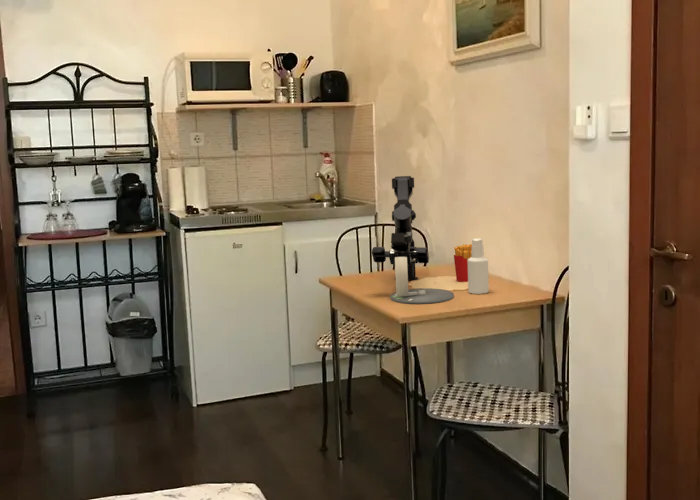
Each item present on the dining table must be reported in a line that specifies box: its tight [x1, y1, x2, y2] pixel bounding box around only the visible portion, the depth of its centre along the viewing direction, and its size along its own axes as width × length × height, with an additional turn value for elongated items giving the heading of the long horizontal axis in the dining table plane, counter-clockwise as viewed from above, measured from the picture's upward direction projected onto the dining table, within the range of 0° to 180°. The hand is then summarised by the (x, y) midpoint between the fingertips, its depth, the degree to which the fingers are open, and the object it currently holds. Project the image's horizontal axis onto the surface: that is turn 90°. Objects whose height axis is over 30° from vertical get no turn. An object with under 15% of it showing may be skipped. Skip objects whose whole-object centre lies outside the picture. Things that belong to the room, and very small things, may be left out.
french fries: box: [453, 243, 472, 283], centre depth 282 cm, size 9×4×13 cm, turn 112°
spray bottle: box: [467, 237, 490, 295], centre depth 261 cm, size 7×7×18 cm
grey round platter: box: [390, 287, 455, 305], centre depth 258 cm, size 21×21×2 cm
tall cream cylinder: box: [394, 257, 418, 297], centre depth 255 cm, size 8×4×13 cm, turn 109°
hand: (397, 275), depth 257 cm, fingers closed, pressing on tall cream cylinder
